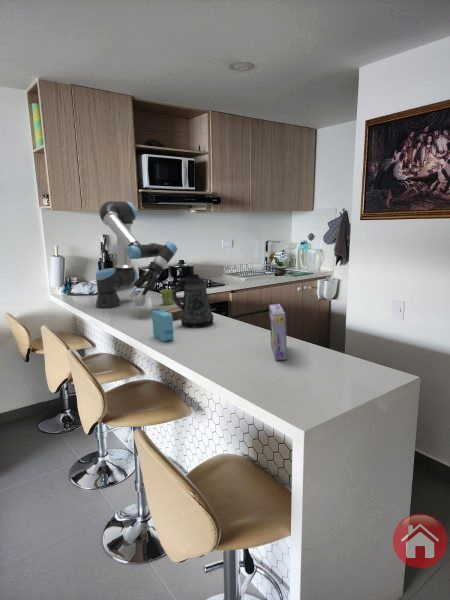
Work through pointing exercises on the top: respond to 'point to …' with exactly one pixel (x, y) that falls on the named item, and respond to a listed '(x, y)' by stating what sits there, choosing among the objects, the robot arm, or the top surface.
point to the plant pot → (167, 297)
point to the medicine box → (137, 301)
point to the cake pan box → (278, 331)
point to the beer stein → (193, 302)
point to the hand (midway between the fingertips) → (134, 298)
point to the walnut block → (174, 312)
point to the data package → (162, 325)
